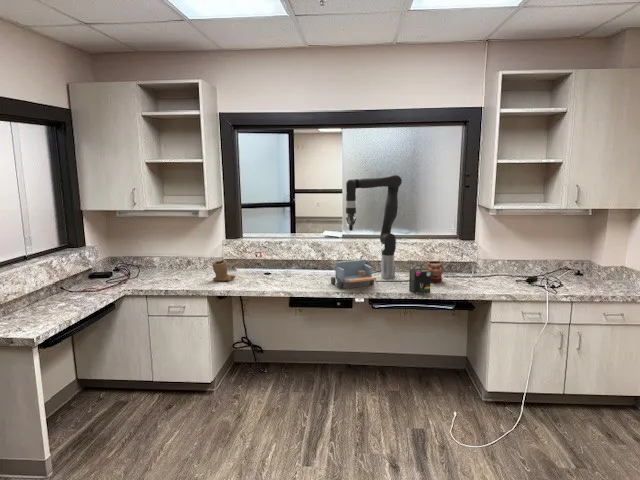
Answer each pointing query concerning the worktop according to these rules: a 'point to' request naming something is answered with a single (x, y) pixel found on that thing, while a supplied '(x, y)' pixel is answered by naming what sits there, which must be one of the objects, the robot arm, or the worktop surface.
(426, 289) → the tampon box
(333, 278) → the pickup bed
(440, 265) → the decorative planter
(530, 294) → the worktop surface
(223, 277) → the brown boot
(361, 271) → the block
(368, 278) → the panel
